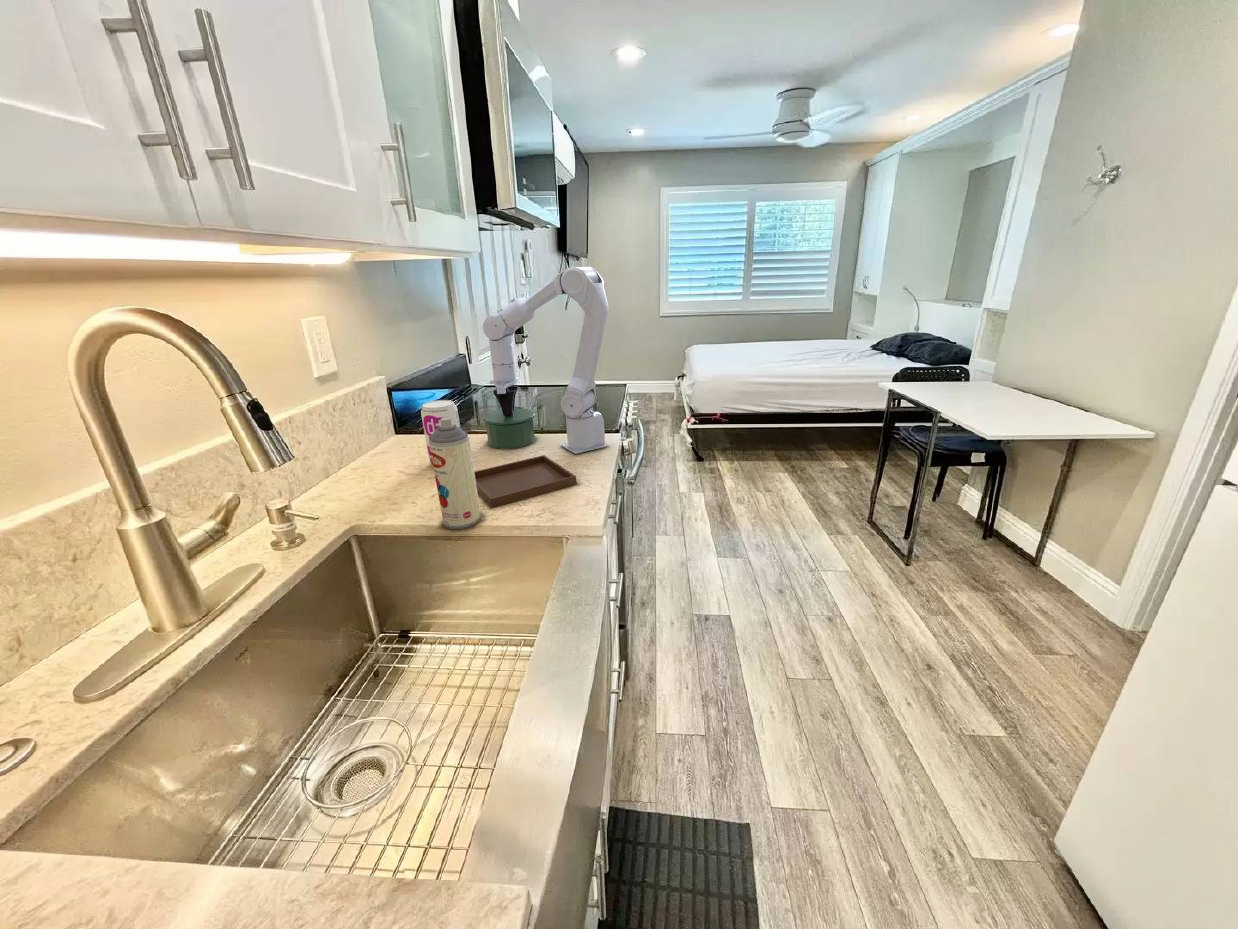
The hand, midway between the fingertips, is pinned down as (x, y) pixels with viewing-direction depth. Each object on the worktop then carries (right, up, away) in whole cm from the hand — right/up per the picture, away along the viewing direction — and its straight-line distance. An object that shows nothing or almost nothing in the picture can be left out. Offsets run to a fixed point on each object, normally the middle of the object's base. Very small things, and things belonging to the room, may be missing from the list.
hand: (508, 414), depth 132 cm
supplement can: (-12, -13, -11) cm, 21 cm away
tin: (0, -7, +3) cm, 8 cm away
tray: (+8, -18, -23) cm, 30 cm away
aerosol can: (0, -24, -39) cm, 46 cm away
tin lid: (0, -1, 0) cm, 1 cm away
